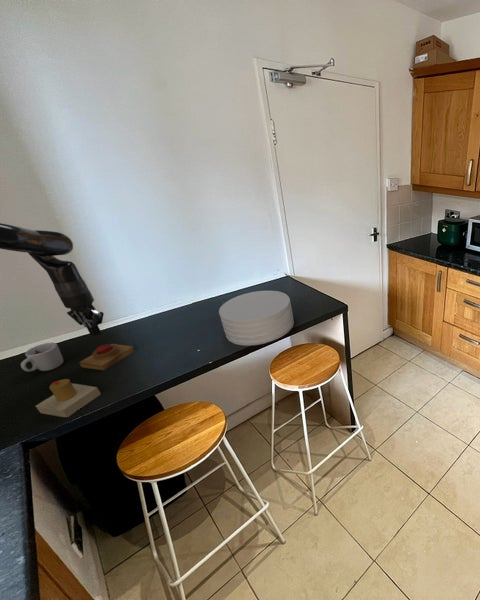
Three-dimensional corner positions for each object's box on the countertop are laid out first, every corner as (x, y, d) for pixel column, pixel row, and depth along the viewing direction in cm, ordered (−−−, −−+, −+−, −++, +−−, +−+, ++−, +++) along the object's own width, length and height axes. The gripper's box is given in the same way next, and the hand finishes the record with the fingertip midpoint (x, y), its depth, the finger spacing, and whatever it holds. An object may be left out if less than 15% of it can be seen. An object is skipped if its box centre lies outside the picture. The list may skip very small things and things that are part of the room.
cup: (39, 380, 108) (26, 361, 104) (20, 377, 109) (7, 359, 106) (73, 360, 118) (62, 343, 114) (55, 358, 119) (44, 341, 115)
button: (104, 354, 115) (102, 351, 114) (95, 353, 116) (93, 349, 115) (114, 348, 119) (113, 344, 118) (106, 347, 119) (104, 343, 118)
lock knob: (80, 391, 99) (72, 378, 96) (65, 402, 95) (56, 388, 93) (68, 390, 99) (60, 377, 97) (53, 400, 96) (44, 387, 93)
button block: (104, 370, 113) (99, 361, 111) (81, 367, 114) (76, 358, 112) (134, 350, 123) (131, 342, 121) (113, 348, 125) (109, 339, 123)
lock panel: (67, 417, 93) (61, 410, 92) (40, 413, 95) (35, 405, 94) (101, 394, 102) (96, 386, 101) (76, 390, 104) (71, 382, 102)
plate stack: (306, 323, 141) (303, 301, 136) (248, 354, 121) (241, 329, 116) (271, 306, 156) (266, 285, 151) (213, 330, 136) (206, 307, 131)
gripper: (45, 294, 104) (70, 338, 112) (78, 298, 101) (101, 342, 109) (70, 285, 110) (92, 327, 118) (101, 288, 108) (121, 330, 116)
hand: (96, 334), depth 114 cm, fingers closed
